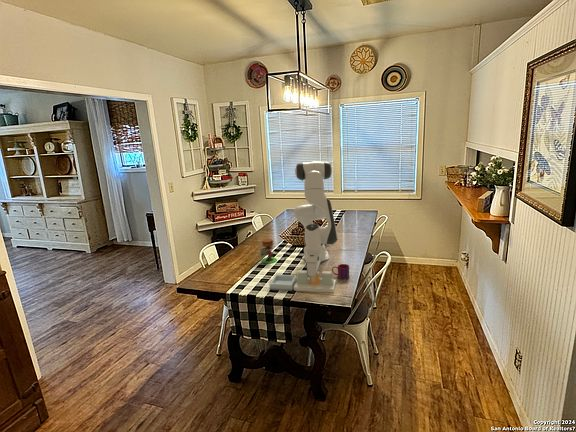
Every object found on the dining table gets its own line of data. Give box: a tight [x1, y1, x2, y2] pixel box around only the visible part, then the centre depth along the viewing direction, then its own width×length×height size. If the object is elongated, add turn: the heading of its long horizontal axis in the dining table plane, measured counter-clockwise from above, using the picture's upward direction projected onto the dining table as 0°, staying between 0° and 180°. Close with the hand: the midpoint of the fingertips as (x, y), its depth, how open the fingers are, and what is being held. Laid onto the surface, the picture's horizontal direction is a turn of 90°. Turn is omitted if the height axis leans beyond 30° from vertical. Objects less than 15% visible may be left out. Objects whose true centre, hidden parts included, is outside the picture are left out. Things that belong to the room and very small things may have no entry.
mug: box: [331, 263, 350, 280], centre depth 192 cm, size 7×10×7 cm
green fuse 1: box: [297, 269, 309, 284], centre depth 183 cm, size 3×5×7 cm, turn 76°
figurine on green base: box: [259, 238, 278, 264], centre depth 225 cm, size 12×13×15 cm
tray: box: [269, 274, 298, 292], centre depth 187 cm, size 13×13×4 cm
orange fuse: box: [309, 270, 321, 285], centre depth 181 cm, size 3×5×7 cm, turn 76°
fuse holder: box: [293, 276, 337, 293], centre depth 182 cm, size 12×22×5 cm, turn 76°
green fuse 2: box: [321, 270, 333, 285], centre depth 179 cm, size 3×5×7 cm, turn 76°
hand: (315, 277), depth 180 cm, fingers open, 8 cm apart
